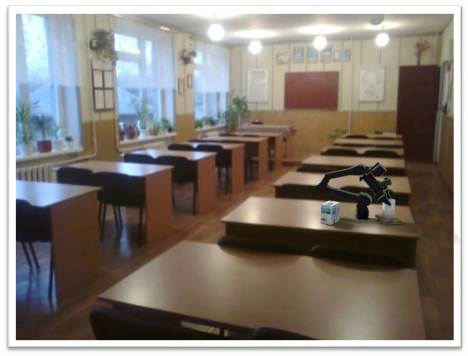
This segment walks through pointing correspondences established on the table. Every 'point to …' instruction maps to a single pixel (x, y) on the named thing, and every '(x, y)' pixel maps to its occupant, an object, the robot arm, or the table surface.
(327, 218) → the light bulb box
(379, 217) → the walnut base block
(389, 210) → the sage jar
